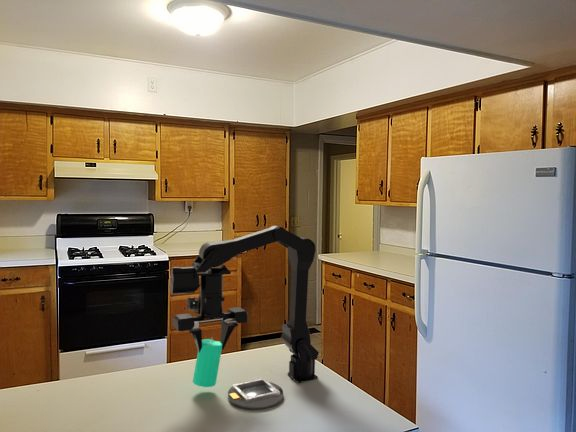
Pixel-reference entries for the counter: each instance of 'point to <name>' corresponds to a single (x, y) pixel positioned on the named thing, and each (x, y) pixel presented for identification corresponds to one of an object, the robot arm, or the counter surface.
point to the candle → (207, 363)
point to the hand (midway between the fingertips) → (211, 351)
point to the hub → (255, 395)
